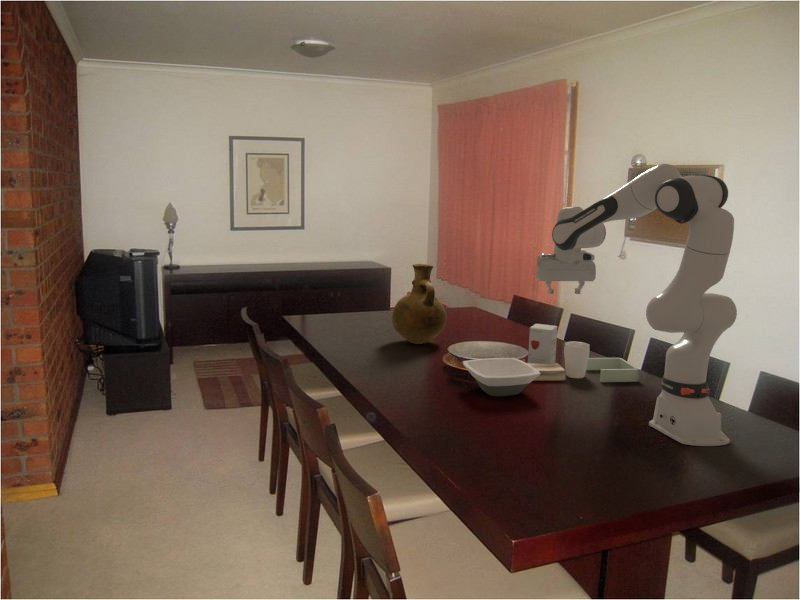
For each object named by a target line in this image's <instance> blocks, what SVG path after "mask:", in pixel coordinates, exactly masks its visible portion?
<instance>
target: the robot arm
mask: <svg viewBox="0 0 800 600" xmlns="http://www.w3.org/2000/svg"><path fill="white" fill-rule="evenodd" d="M728 198H729V189H728V186H727V184H726V183H725V181H723V179H721V178H720V177H717V176H713V175H708V174H707V175H705V174H704V175H703V174H702V175H685V176H682V175H681V173H680V171H679V170H678V169H677V168H676V167H675V166H673V165H672V164H669V163H660V164H658V165H656V166H653V167H651V168H649V169H647V170H645V171H644V172H641V173H640V174H638V176H636V177H634V178H633V179H632V180H630V181H629V182H627V183H626V184H625V185H623V186H622V187H620V188H619V189H617V190H616V191H614V192H612V193H610V194H609V195H607V196H606V197H604V198H602V199H600V200H598V201H596V202H595V203H593V204H592V205H590V206H588V207H587V208H585V209H583V208H582V207H580V206H566V207H563V208H561V209H560V210H559V212H558V214H557V218H556V223H555V224H554V226H553V228H552V233H551V237H552V240H553V242H554V250H553V251H554V252H553V253H548V254H547V253H541V254H540V255H539V256H537V257H536V258H537V259H536V265H537V268H536V270H535V271H536V272H535V278H536V279H537V281H540V282H545V284H546V287H547V288H548V290H547V293H548V294H549V295H554V292H555V288H553V287H552V286H551V285H552V282H578V284H579V285H578V286H577V287H576V288H574V294H576V295H581V294H582V293H581V291H582V288H584V286H585V283H586V282H594V281H595V280H596V275H597V273H596V272H597V271H596V270H597V269H596V263H595V254H592V253H591V252H588V251H587V250H583V249H593V248H597V247H600V246H601V245H602V244H603V243H604V242H605V240H606V235H607V231H606V230H607V229H606V226H605V225H604V224H605V223H607V222H612V221H613V222H614V221H619V220H620V221H622V220H623V221H624V220H633V219H638V218H641V217H643V216H647V215H649V214H650V213H653V212H654V211H655V210H657V209H658V212H660V213H661V214H662V215H664V216H666V217H668V218H670V219H672V220H674V221H675V222H676V223H678V224H680V225H682V224H687V225H688V235H687V238H686V242H685V245H684V246H685V247H684V250H683V255H682V258H681V261H680V264H679V268H678V270H677V272H676V274H675V276H674V277H673V279H672V280H671V282H670V283H669V284H668V285H667V287H666V288H665V289H664V290H663V291H662V292H660V293H658V294H657V295H656V296H655V297H653V298H651V299H650V300H649V302H648V304H647V306H646V309H645V316H646V321H647V322H648V325H649V326H650V327H651V328H652V329H653V330H654V331H657V332H664V333H669V334H675V333H676V334H677V333H679V334H680V333H683V334H682V336H681V337H680V339H679V340H678V341H677V342H675V343H674V344H672V345H670V347H669V348H668V349H667V351H666V353H665V364H664V374H663V376H662V379H661V389H662V390H661V392H660V394H659V395H658V396H657V397H656V402H655V407H654V413H653V418H652V419H651V420H649V422H648V426H649V427H652V428H654V429H655V430H656V431H658V432H660V433H662V434H664V435H665V436H668V437H669V438H671V439H673V440H674V441H677V442H678V443H680V444H682V445H689V446H696V447H717V446H725V445H729V444H730V443H731V440H730V438H729V437H728V436H727V435H726V434H725V433H724V432H723V431H722V413H720V412H717V410H716V409H715V406H714V405H713V403H712V401H711V399H710V398H709V395H710V393H711V388H709V384H708V381H707V374H708V366H709V361H710V357H711V353H712V351H713V348H714V346H715V344H716V343H717V341H718V340H719V338H720V337H721V336H722V335H723V333H724V332H726V330H728V329H729V328H731V327H732V326H733V325H734V324H735V322H736V319H737V315H738V314H737V313H738V310H737V305H736V303H735V302H734V300H733V299H732V297H731V298H730V297H729V296H728V295H722V294H718V293H712V292H709V293H708V292H707V291H708V290H709V289H711V288H712V287H713V286H716V285H717V284H718V283H719V282H721V281H722V279H723V278H724V275H725V271H726V268H727V263H728V260H729V257H730V253H731V248H732V244H733V239H734V229H735V219H734V218H735V217H734V216H733V214H732V213H731V212H730V211H729V210H726V209H725V208H722V207H723V206H725V204H726V203H727V201H728ZM706 292H707V293H706Z"/></svg>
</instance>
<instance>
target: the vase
mask: <svg viewBox="0 0 800 600" xmlns="http://www.w3.org/2000/svg"><path fill="white" fill-rule="evenodd" d="M412 268H413V271H414V278H413V280H412V281H411V285H412V289H411V291H408V292H407V293H406V295H404V296H402V297H401V298H400V299H398V301H397V302H396V304H395V306H394V308H393V310H392V315H391V321H392V327H393V329H395V331H396V332H397V333H398V334H399V335H400V336H401V337H402V338H403V339H405V340H406V341H408V342H410V343H411V344H414V345H422V344H423V343H424V344H427V343H428V342H431V341H432V340H434V339H436V337H438V336H439V335H440V334H441V333H442V331H444V329H445V328H446V325H447V320H448V319H447V311H446V309H445V306H444V305H443V303H442V302H441V300H439V299H438V298H437V297H436V292H435V286H434V285H433V284H432V282H431V275H432V270H433V268H434V265H433V264H428V263H427V264H425V263H415V264H414V263H413V264H412ZM424 344H423V345H424Z"/></svg>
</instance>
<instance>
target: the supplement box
mask: <svg viewBox="0 0 800 600" xmlns="http://www.w3.org/2000/svg"><path fill="white" fill-rule="evenodd" d="M557 336H558V325H551V324H544V323H543V324H542V323H534V324H533V325H532V326H530V327H529V338H528V340H529V341H528V355H527V363H556V353H557Z"/></svg>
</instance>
